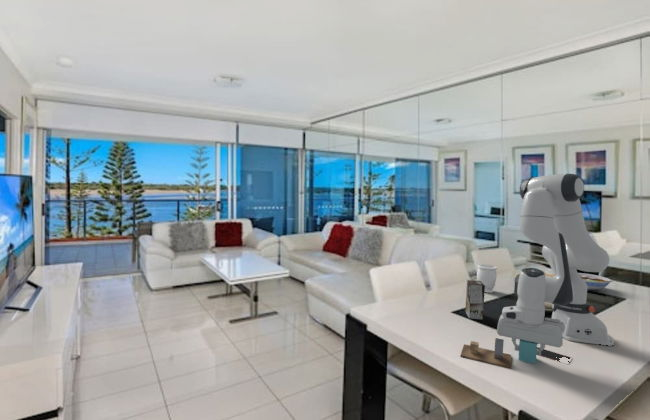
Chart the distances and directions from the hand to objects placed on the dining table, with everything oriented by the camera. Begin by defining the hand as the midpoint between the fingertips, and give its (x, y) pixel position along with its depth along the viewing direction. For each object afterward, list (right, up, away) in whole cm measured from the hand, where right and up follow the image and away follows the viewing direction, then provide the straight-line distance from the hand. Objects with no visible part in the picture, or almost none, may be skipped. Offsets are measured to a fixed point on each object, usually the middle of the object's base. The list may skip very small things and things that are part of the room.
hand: (527, 352), depth 125 cm
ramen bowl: (+92, +1, +94) cm, 131 cm away
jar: (+23, +3, +83) cm, 86 cm away
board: (-14, -2, +1) cm, 15 cm away
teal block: (0, -2, 0) cm, 2 cm away
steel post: (-11, -2, -1) cm, 11 cm away
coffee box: (-1, 0, +42) cm, 42 cm away
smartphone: (+10, -3, +4) cm, 11 cm away
